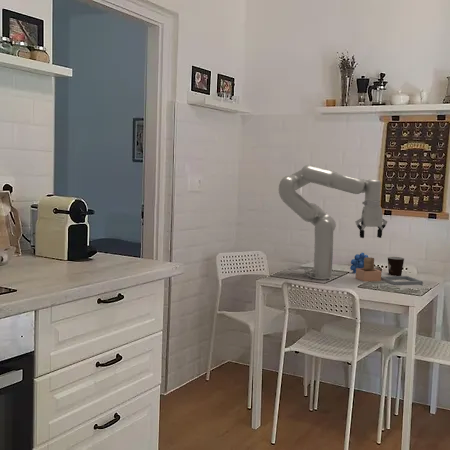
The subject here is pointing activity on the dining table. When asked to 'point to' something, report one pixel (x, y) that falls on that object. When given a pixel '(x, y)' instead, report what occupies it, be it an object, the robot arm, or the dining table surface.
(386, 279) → the tray
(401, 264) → the coffee mug
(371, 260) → the tan upright block
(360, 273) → the orange block with hole
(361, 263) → the grapes
